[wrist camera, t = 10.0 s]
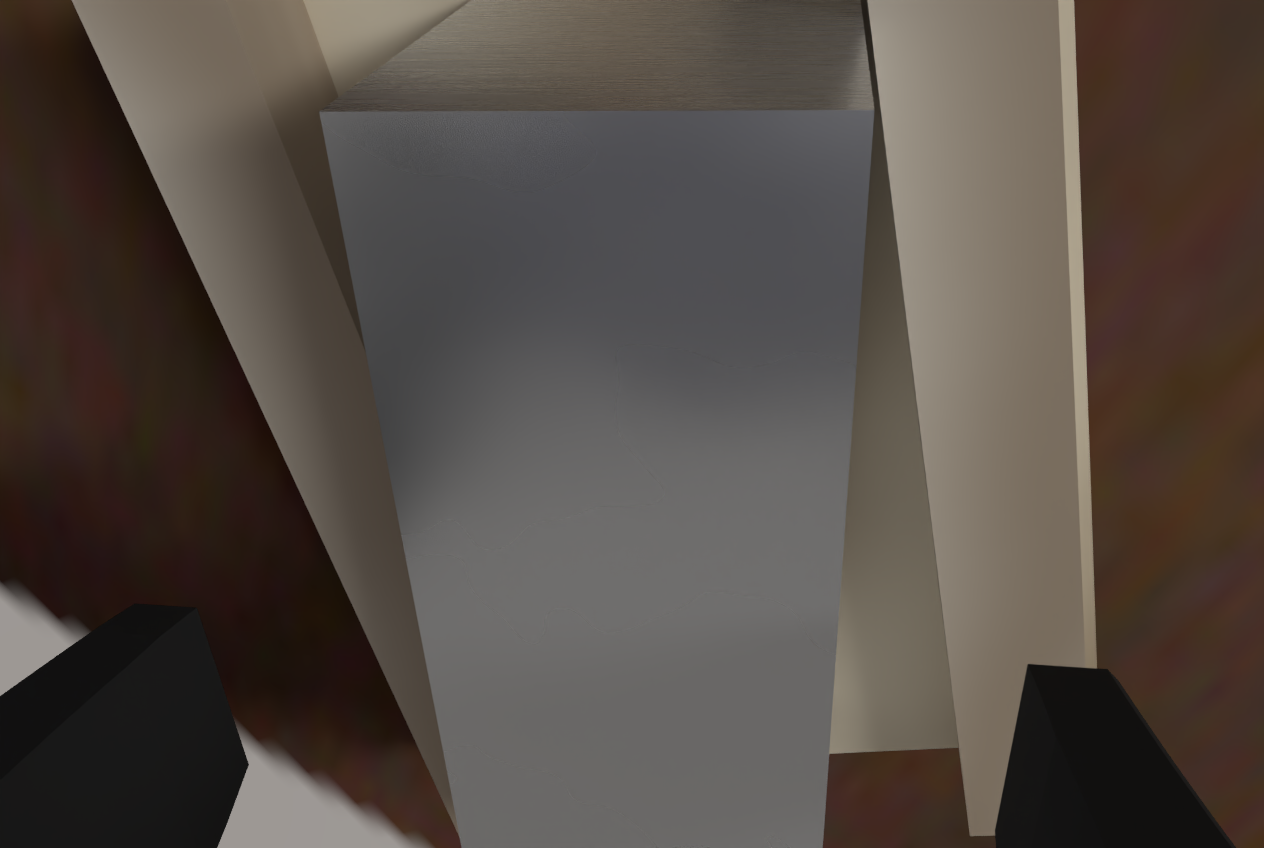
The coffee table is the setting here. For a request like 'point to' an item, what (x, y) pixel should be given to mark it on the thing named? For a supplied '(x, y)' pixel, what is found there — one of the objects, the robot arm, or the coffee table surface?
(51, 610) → the coffee table surface
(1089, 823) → the robot arm
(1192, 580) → the coffee table surface
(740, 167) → the grey rectangular block
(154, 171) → the cradle
